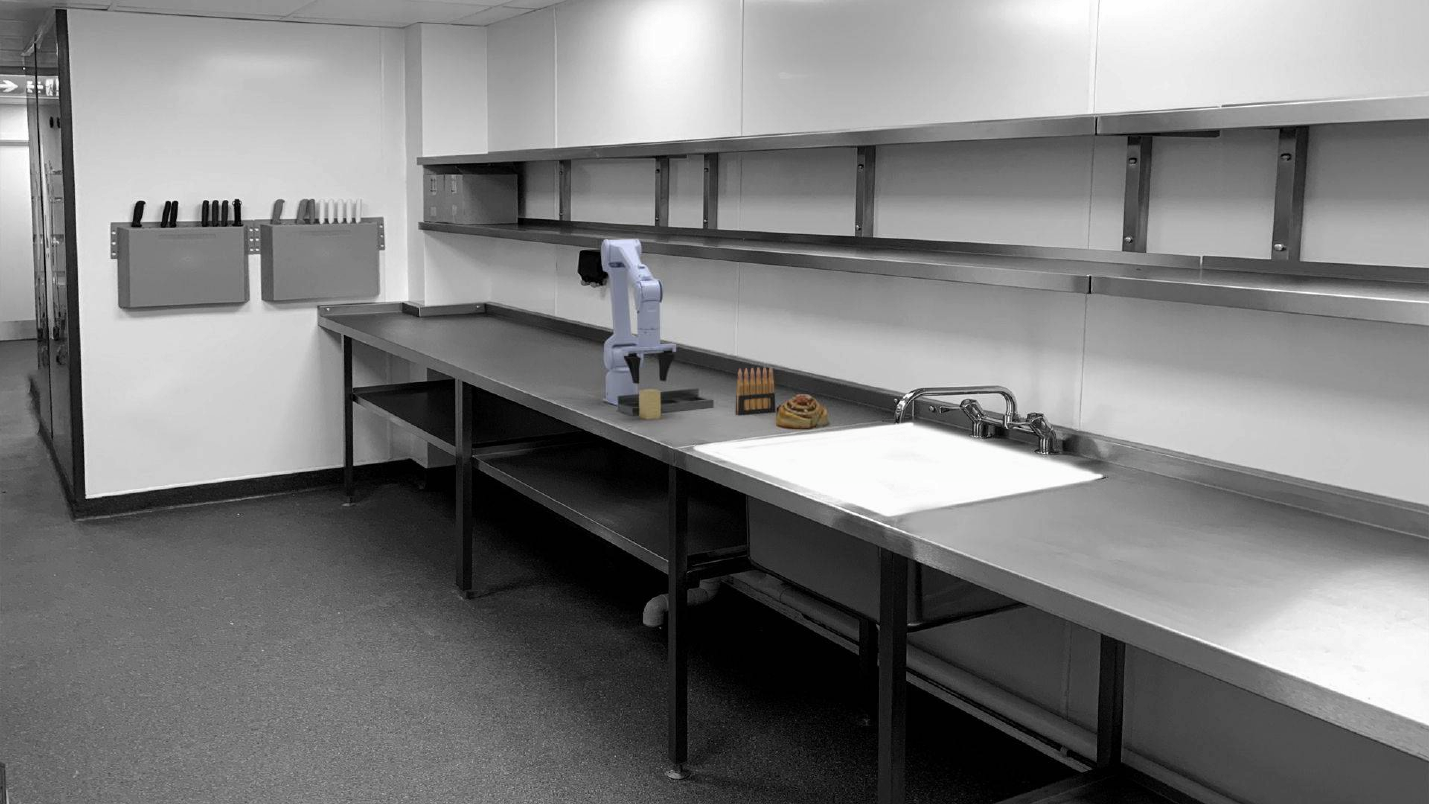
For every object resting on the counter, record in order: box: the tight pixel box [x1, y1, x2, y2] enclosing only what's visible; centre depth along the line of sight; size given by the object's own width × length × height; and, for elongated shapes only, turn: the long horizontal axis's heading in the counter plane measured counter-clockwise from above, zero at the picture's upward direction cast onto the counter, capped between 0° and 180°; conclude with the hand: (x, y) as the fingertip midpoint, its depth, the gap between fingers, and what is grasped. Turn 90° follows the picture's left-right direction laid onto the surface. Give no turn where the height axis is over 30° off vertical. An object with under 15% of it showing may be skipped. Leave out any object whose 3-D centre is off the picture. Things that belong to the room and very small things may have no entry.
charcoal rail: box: [617, 387, 715, 417], centre depth 316 cm, size 9×24×4 cm, turn 120°
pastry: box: [775, 393, 829, 430], centre depth 295 cm, size 13×15×8 cm
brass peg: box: [638, 388, 662, 421], centre depth 304 cm, size 4×4×7 cm
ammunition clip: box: [735, 366, 777, 416], centre depth 309 cm, size 11×2×12 cm, turn 113°
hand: (649, 382), depth 303 cm, fingers open, 7 cm apart
